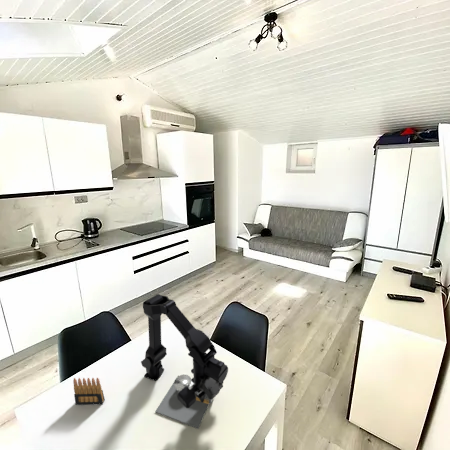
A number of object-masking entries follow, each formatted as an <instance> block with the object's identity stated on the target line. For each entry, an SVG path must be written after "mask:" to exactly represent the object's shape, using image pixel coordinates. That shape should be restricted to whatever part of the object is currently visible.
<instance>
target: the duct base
mask: <svg viewBox="0 0 450 450" xmlns="http://www.w3.org/2000/svg"><path fill="white" fill-rule="evenodd" d="M177 394H178V392H176V391H175V388H174V382H173V383H172V385H171V386H170V387H169V389H168V391H167V392H166V394H165V395H164V397H163V398H162V400H161V402H160V403H159V404H158V406H157V408H156V410H155V413H156V414H159V415H161V416H164V417H165V418H169V419H171V420H174V421H176V422H179V423H182V424H184V425H187V426H188V427H189V426H190V427H193V428H195V429H197V430H199V429H200V426H201V424H202V421H203V419H204V416H205V415H206V412H207V410H208V407H209V405H210V403H209V401H206V400H204V402H203V403H202V402H201V401H200V399H199V398H196V401H195V403H194V404H193V405H192V406H190V407H189V408H186V407H185V406H184V405H183V404H182V403H181V402H180V401H179V400H178V399H177Z"/></svg>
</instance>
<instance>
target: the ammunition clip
mask: <svg viewBox="0 0 450 450" xmlns="http://www.w3.org/2000/svg"><path fill="white" fill-rule="evenodd" d="M95 380H96V381H95ZM73 390H74V394H73V395H74V401H75V403H74V404H75V405H76V406H80V405H81V406H85V405H87V406H89V405H91V406H93V405H103V404H104V402H105V396H104V395H105V394H104V390H103V389H102V385H101V382H100V378H99V377H96V379H95V378H94V377H92V378H91V379H90V377H87V379H86V378H85V377H83V379H81V378H80V377H78V379H76V378H75V377H74V378H73Z"/></svg>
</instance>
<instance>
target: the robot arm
mask: <svg viewBox="0 0 450 450" xmlns="http://www.w3.org/2000/svg"><path fill="white" fill-rule="evenodd" d="M142 309H143V313H144V315H146V317H147V318H148V321H147V322H148V347H147V348H146V351H145V354H144V355H145V356H144V359H142V360H141V361H140V363H141V365H142V368H145V372H146V373H145V374H144V378H145V379H149V380H152V381H155V382H156V381H158V379H159V378H160V377H161V375H163V372H164V371H165V368H163V364H162V360H163V359H165V357H166V356H167V348H166V347H165V346H164V345H163V343H162V319H161V318H162V315H165V316H166V317H167V318H168V320H169V321H170V322H171V323H172V324H173V326H174V327H175V328H176V329H177V330H178V332H179V333H180V335H181V336H182V337H183V338H184V340H185V341H184V342H185V346H186V348H187V350H188V353H187V355H188V356H189V357H191V358H192V369H190V373H192V374H193V377H192V378H191V380H192V382H193V383H194V384H193V385H192V386H191V387H190V388H188V387H187V386H186V387H184V388H183V389H182V390H180V391H179V392H178V394H177V399H178V400H179V401H180V402H181V403H182V404H183V405H184V406H185V407H186V408H189V407H190V406H192V405H193V404H194V403H195V401H196V396H197V397H198V398H199V399H200V401H201V402H202V403H203V402H204V399H205V396H206V395H207V396H208V398H209V399H211V400H212V399H213V400H214V399H215V397H216V396H217V395H218V394H219V393H220V391H221V390H222V389H223V387H224V381H225V379H226V378H227V376H228V372H229V367H228V365H227V364H226V363H225V362H224V361H222V360H219V359H217V358H215V355H217V353H218V351H217V349H216V347H215V345H214V344H213V342H212V341H211V339H210V338H209V336H208V335H207V334H206V333H205V332H204V331H203V330H200V329H198V328H195V326H194V325H193V324H192V323H191V321H190V320H189V319H188V318H187V317H186V315H185V314H184V313H183V312H182V311H181V309H180V308H179V307H178V306H177V303H176V301H175V300H173V299H171V298H169V297H168V296H167V295H163V294H162V295H161V294H159V293H156V294H155V295H153V296H151V297H150V298H147V299H146V300H144V301H143V303H142ZM208 350H209V351H208ZM207 351H208V352H207ZM195 395H196V396H195ZM213 400H212V401H213Z"/></svg>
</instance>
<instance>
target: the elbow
mask: <svg viewBox="0 0 450 450" xmlns="http://www.w3.org/2000/svg"><path fill="white" fill-rule="evenodd" d="M191 379H192V378H191V376H190V375H189V374H180V375H177V377H176V378H175V379H174V381H173V383H174V388H175V391H176V392H179V391H180V390H182V389H183V388H184V387H186V386H187V387H188V388H190V387H191V386H192V385H193V384H194V383H193V382H192V380H191ZM195 396H196V395H195ZM196 398H198V397H197V396H196ZM204 400H206V401H209V404H212V402H213V400H214V398H213V399H212V400H211V399H209V398H208V396H207V395H206V396H205V399H204Z"/></svg>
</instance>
